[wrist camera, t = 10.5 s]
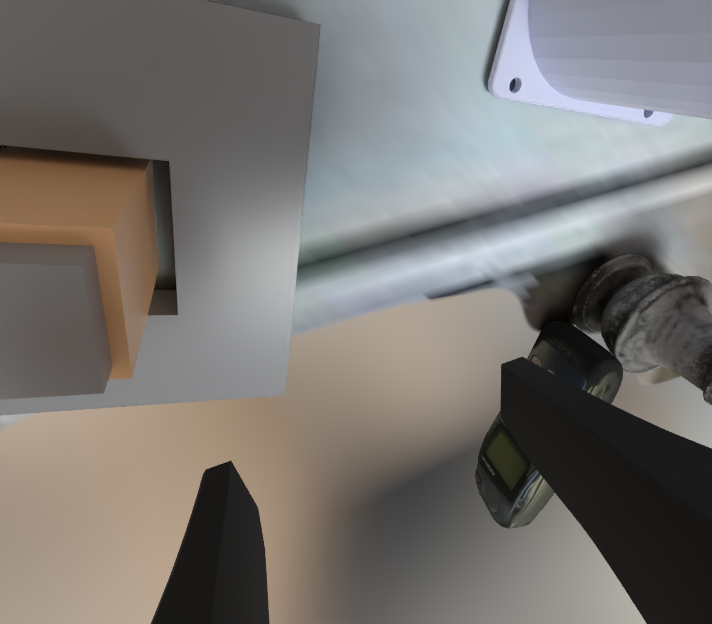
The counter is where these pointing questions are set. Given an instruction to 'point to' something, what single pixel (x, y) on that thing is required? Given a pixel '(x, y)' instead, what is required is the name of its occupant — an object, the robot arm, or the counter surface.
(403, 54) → the counter surface
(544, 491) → the mobile phone
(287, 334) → the socket plate
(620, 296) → the salt shaker
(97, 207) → the plug
